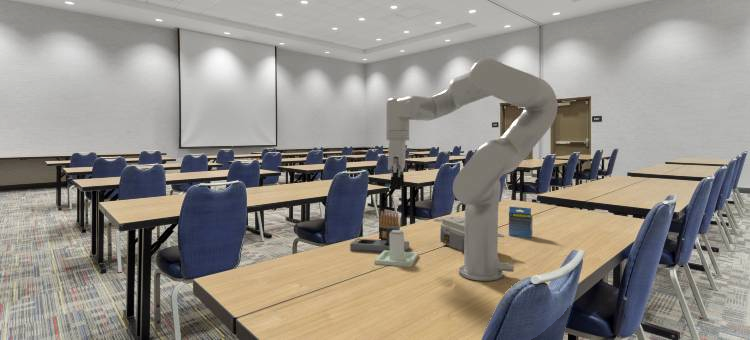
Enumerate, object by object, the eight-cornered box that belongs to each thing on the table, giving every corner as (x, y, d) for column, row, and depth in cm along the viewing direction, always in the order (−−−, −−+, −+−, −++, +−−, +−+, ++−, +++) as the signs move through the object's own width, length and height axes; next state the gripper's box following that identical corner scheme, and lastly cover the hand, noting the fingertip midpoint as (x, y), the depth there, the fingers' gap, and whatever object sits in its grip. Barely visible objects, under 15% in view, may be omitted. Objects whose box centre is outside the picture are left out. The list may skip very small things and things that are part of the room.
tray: (418, 257, 139) (418, 252, 138) (411, 268, 127) (411, 262, 127) (384, 255, 142) (384, 250, 142) (374, 265, 131) (374, 260, 130)
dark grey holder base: (413, 245, 155) (412, 221, 155) (404, 255, 141) (404, 230, 140) (363, 241, 161) (363, 219, 160) (350, 251, 147) (349, 227, 146)
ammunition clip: (400, 243, 158) (400, 213, 157) (397, 244, 156) (396, 213, 156) (382, 238, 166) (382, 209, 165) (378, 239, 165) (378, 210, 164)
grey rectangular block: (404, 258, 136) (404, 230, 135) (401, 262, 132) (401, 232, 131) (392, 257, 137) (392, 229, 136) (389, 261, 133) (389, 232, 132)
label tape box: (532, 236, 167) (533, 206, 166) (530, 238, 164) (531, 208, 163) (510, 233, 172) (511, 205, 171) (508, 235, 168) (508, 206, 167)
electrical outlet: (451, 236, 165) (452, 212, 164) (507, 258, 141) (509, 230, 140) (428, 240, 159) (429, 215, 158) (483, 264, 135) (485, 235, 134)
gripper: (389, 136, 144) (389, 184, 145) (382, 136, 127) (382, 190, 128) (411, 136, 142) (410, 184, 144) (406, 136, 125) (406, 191, 127)
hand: (397, 187), depth 136 cm, fingers open, 9 cm apart
